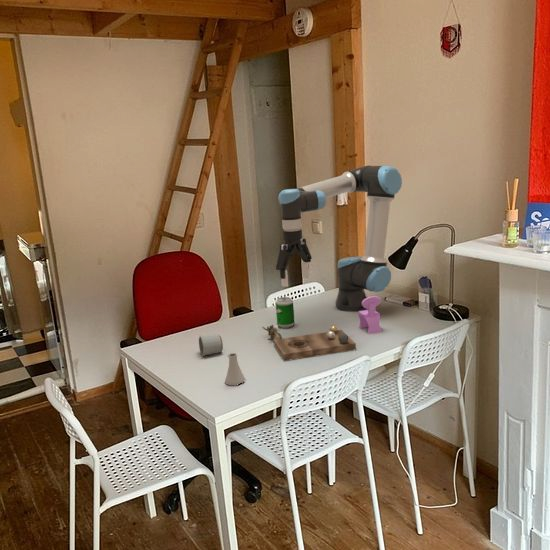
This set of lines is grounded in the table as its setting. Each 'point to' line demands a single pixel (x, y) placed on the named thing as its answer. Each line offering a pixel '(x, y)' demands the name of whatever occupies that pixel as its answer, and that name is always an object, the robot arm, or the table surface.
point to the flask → (234, 371)
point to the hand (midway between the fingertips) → (295, 282)
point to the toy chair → (370, 315)
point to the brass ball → (333, 329)
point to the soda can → (285, 312)
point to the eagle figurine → (273, 332)
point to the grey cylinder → (210, 344)
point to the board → (312, 345)
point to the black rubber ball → (343, 338)
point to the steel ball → (330, 334)
